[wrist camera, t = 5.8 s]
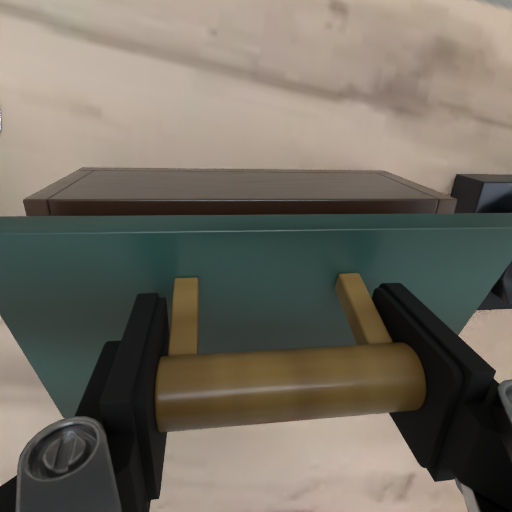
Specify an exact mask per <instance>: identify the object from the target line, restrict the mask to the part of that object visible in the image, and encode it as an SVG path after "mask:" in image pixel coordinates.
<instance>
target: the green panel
mask: <svg viewBox="0 0 512 512" xmlns="http://www.w3.org/2000/svg"><path fill="white" fill-rule="evenodd" d="M511 261H512V213H456V214H306V215H156V216H6V217H0V315H1V317H2V318H3V320H4V322H5V323H6V325H7V327H8V328H9V330H10V331H11V333H12V335H13V336H14V338H15V340H16V341H17V343H18V344H19V346H20V348H21V349H22V351H23V353H24V354H25V356H26V357H27V359H28V361H29V362H30V364H31V366H32V367H33V369H34V370H35V372H36V374H37V375H38V377H39V379H40V380H41V382H42V384H43V385H44V387H45V388H46V390H47V392H48V393H49V395H50V397H51V398H52V400H53V401H54V403H55V405H56V406H57V408H58V410H59V411H60V413H61V414H62V416H63V418H70V417H74V416H75V413H76V411H77V409H78V406H79V404H80V401H81V399H82V397H83V394H84V392H85V389H86V387H87V385H88V382H89V380H90V377H91V375H92V373H93V370H94V368H95V365H96V363H97V360H98V358H99V356H100V353H101V351H102V348H103V346H104V344H105V343H106V342H107V341H119V340H122V337H123V334H124V331H125V328H126V325H127V322H128V320H129V317H130V314H131V311H132V308H133V305H134V302H135V300H136V297H137V294H140V293H158V294H159V298H163V297H166V301H167V312H168V323H169V334H170V335H169V347H168V356H162V357H160V359H159V362H158V365H157V371H156V379H155V421H156V426H157V429H158V431H159V432H172V431H184V430H195V429H207V428H218V427H230V426H242V425H253V424H265V423H276V422H288V421H299V420H311V419H322V418H334V417H345V416H357V415H369V414H380V413H392V412H403V411H414V410H417V409H419V408H420V407H421V406H422V405H423V403H424V401H425V397H426V377H425V373H424V369H423V366H422V363H421V361H420V359H419V357H418V355H417V353H416V352H415V351H414V350H413V348H412V347H410V346H409V345H408V344H405V343H402V342H396V343H393V341H392V339H391V337H390V335H389V333H388V331H387V329H386V327H385V325H384V323H383V321H382V319H381V317H380V315H379V313H378V311H377V309H376V307H375V305H374V303H373V301H372V295H373V291H374V289H375V288H378V287H379V285H380V284H382V283H401V284H403V285H404V286H405V287H406V288H407V289H408V290H409V291H410V292H411V293H412V294H413V295H415V296H416V297H417V298H418V299H419V300H420V301H421V302H422V303H423V304H424V305H425V306H426V307H427V308H429V309H430V310H431V311H432V312H433V313H434V314H435V315H436V316H437V317H438V318H439V319H440V320H441V321H443V322H444V323H445V324H446V325H447V326H448V327H449V328H450V329H451V330H452V331H453V332H454V333H455V334H457V335H459V333H460V332H461V331H462V329H463V328H464V326H465V325H466V324H467V322H468V321H469V319H470V318H471V317H472V315H473V314H474V312H475V311H476V310H477V308H478V307H479V305H480V304H481V303H482V301H483V300H484V299H485V297H486V296H487V294H488V293H489V292H490V290H491V289H492V287H493V286H494V285H495V283H496V282H497V280H498V279H499V278H500V276H501V275H502V273H503V272H504V271H505V269H506V268H507V266H508V265H509V264H510V262H511Z"/></svg>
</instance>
